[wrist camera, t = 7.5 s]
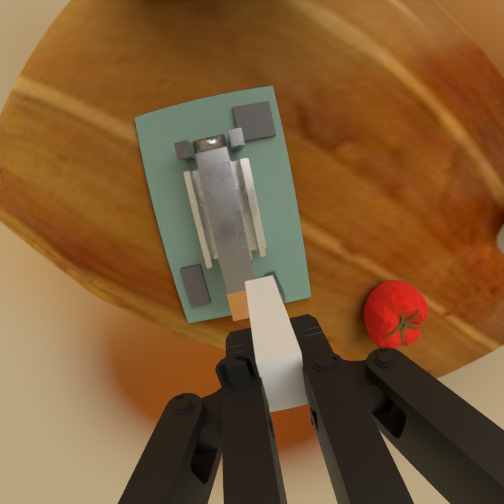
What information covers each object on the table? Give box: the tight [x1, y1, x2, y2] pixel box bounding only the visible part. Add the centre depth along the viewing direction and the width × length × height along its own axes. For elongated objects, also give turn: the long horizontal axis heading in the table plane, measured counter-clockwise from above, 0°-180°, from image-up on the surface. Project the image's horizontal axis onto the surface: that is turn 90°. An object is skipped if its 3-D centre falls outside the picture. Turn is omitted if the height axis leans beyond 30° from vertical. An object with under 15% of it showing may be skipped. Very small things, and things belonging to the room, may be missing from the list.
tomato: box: [364, 280, 428, 349], centre depth 35 cm, size 9×9×8 cm
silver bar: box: [174, 128, 286, 304], centre depth 29 cm, size 17×8×6 cm, turn 11°
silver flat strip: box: [193, 134, 255, 321], centre depth 27 cm, size 18×3×1 cm, turn 12°
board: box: [135, 86, 311, 323], centre depth 32 cm, size 26×16×2 cm, turn 11°
